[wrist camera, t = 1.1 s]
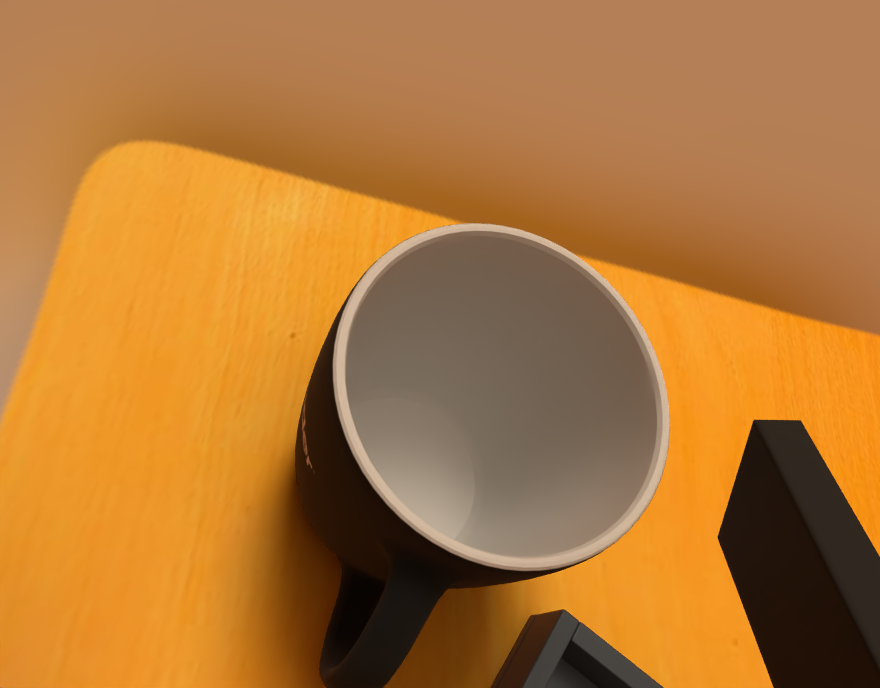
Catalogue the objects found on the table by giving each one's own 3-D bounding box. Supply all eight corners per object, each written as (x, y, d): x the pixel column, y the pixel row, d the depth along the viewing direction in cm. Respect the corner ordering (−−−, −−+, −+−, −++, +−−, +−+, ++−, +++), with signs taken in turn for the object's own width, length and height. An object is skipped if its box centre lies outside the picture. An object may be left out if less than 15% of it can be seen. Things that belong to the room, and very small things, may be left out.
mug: (332, 318, 30) (417, 161, 21) (540, 427, 31) (703, 321, 22) (165, 636, 24) (187, 602, 15) (430, 755, 25) (592, 786, 16)
